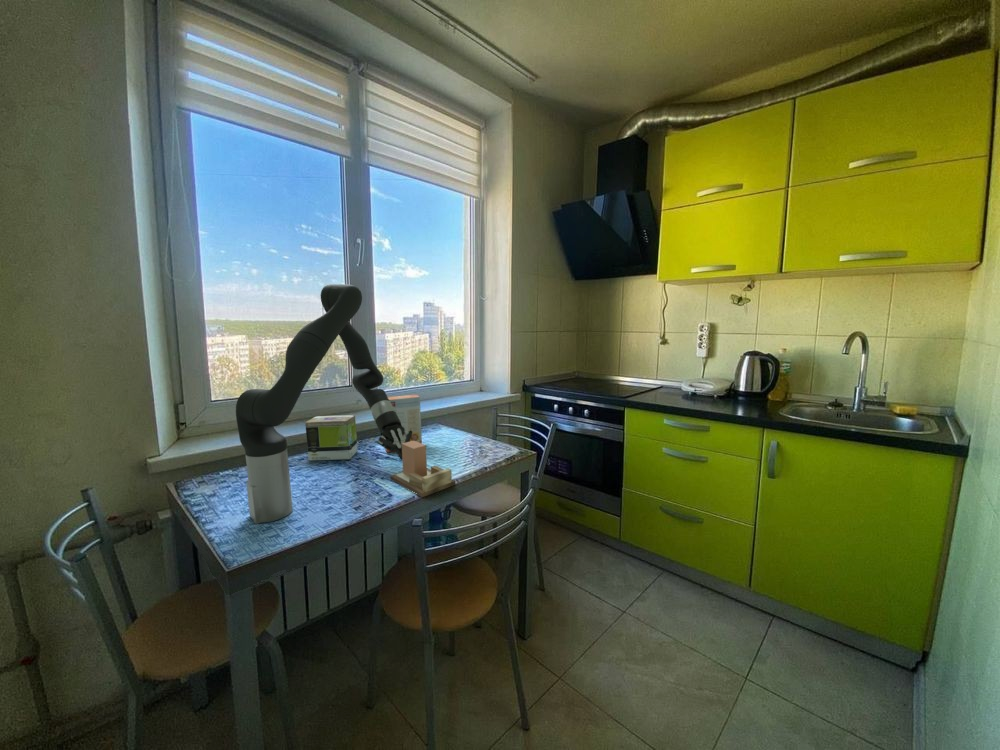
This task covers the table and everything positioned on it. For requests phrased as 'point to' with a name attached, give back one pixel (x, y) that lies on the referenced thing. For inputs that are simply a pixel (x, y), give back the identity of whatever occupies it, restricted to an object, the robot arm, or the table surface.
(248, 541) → the table surface
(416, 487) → the board
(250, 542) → the table surface
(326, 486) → the table surface
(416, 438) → the cracker box
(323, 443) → the tea box
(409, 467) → the tall tan block
